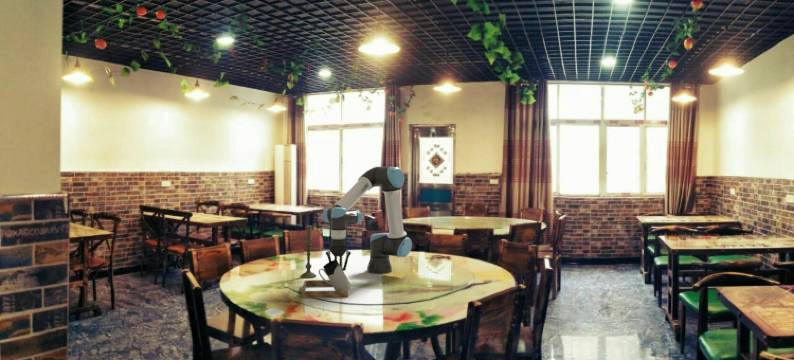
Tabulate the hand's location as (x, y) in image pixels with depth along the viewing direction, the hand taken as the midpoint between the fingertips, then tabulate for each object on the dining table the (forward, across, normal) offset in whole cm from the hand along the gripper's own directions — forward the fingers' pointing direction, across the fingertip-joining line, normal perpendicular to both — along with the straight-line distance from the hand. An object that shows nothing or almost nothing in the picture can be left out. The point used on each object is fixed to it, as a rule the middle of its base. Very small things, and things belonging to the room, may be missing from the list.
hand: (337, 284), depth 247 cm
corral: (+3, -6, 0) cm, 7 cm away
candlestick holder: (+4, -17, +35) cm, 39 cm away
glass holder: (+3, +1, -4) cm, 5 cm away
